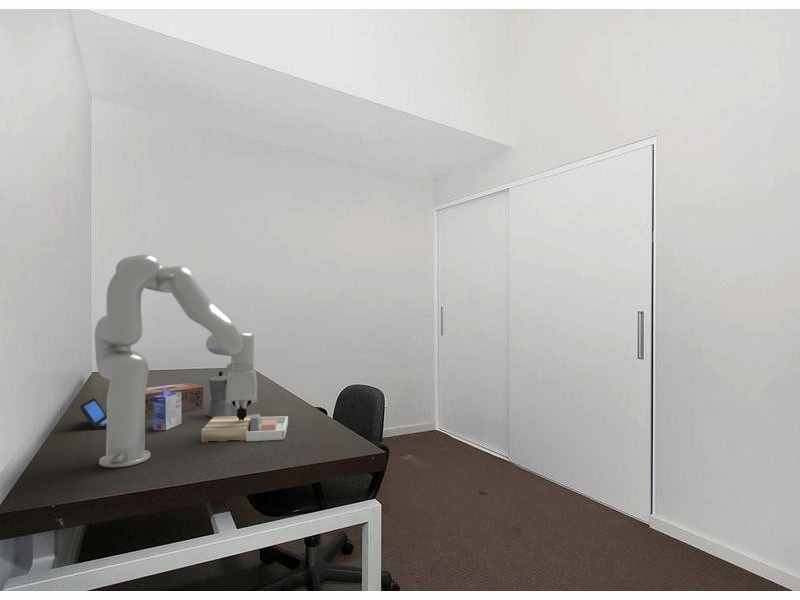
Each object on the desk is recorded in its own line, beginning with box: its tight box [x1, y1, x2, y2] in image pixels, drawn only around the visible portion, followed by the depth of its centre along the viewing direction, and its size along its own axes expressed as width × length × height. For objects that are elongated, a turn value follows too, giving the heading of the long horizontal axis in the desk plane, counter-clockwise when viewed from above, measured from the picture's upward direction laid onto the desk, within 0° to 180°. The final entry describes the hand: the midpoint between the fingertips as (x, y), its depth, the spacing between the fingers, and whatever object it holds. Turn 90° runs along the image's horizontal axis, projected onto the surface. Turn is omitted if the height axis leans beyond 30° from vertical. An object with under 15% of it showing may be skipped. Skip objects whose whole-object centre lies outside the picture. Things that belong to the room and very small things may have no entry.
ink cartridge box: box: [152, 387, 182, 431], centre depth 166 cm, size 10×6×14 cm, turn 174°
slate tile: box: [250, 413, 261, 431], centre depth 159 cm, size 6×5×2 cm
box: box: [245, 415, 289, 442], centre depth 160 cm, size 21×12×3 cm, turn 11°
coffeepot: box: [208, 371, 233, 419], centre depth 184 cm, size 15×9×18 cm, turn 51°
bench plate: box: [200, 415, 252, 443], centre depth 157 cm, size 18×14×4 cm
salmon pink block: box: [261, 420, 277, 431], centre depth 160 cm, size 6×5×2 cm
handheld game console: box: [79, 398, 107, 431], centre depth 169 cm, size 16×13×9 cm
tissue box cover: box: [145, 382, 204, 418], centre depth 191 cm, size 26×14×10 cm, turn 137°
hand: (241, 419), depth 158 cm, fingers closed
